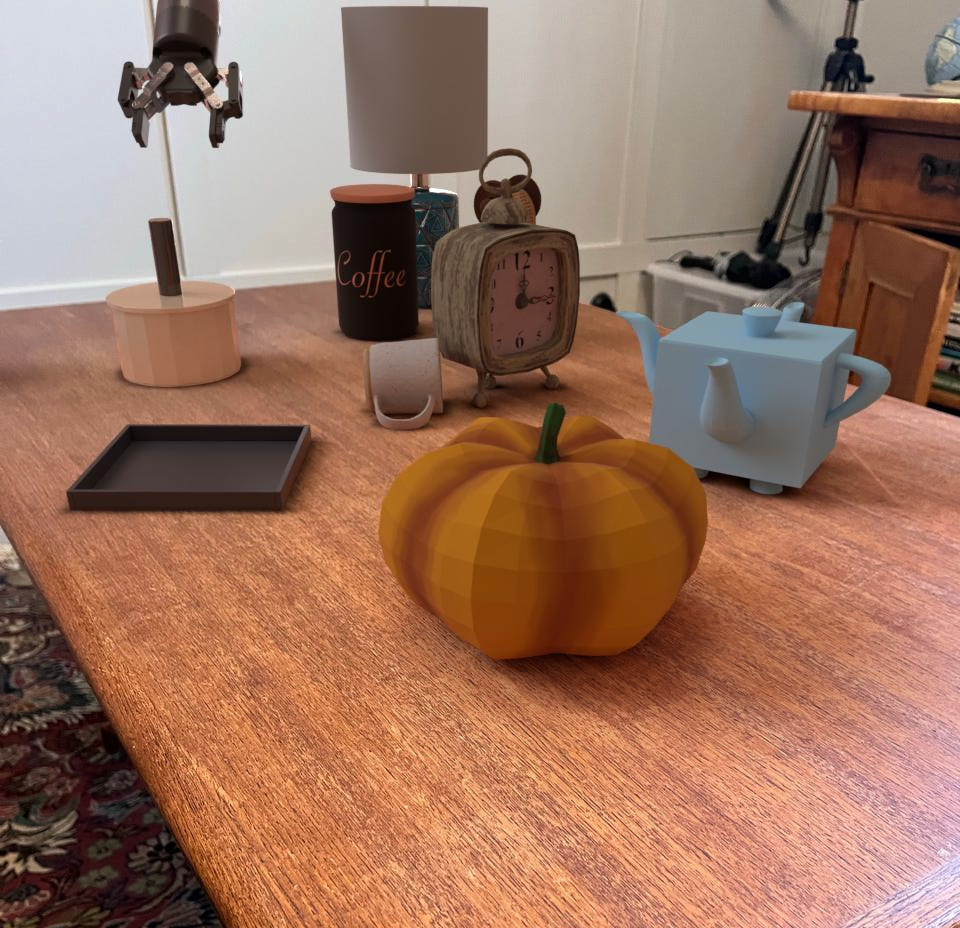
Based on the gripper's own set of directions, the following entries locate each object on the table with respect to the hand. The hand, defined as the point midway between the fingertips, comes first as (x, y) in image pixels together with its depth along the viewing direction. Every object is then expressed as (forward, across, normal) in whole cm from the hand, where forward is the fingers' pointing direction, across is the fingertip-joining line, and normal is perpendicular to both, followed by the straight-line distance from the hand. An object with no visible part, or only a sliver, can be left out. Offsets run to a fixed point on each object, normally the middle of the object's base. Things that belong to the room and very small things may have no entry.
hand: (177, 143), depth 119 cm
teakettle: (+47, +59, -13) cm, 77 cm away
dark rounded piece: (+16, +39, +18) cm, 46 cm away
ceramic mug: (+36, +28, -3) cm, 46 cm away
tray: (+48, +10, -15) cm, 52 cm away
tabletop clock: (+31, +38, +3) cm, 49 cm away
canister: (+25, 0, +9) cm, 26 cm away
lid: (+19, 0, +3) cm, 19 cm away
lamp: (0, +27, +34) cm, 43 cm away
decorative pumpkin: (+67, +40, -33) cm, 85 cm away
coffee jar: (+12, +22, +21) cm, 33 cm away
